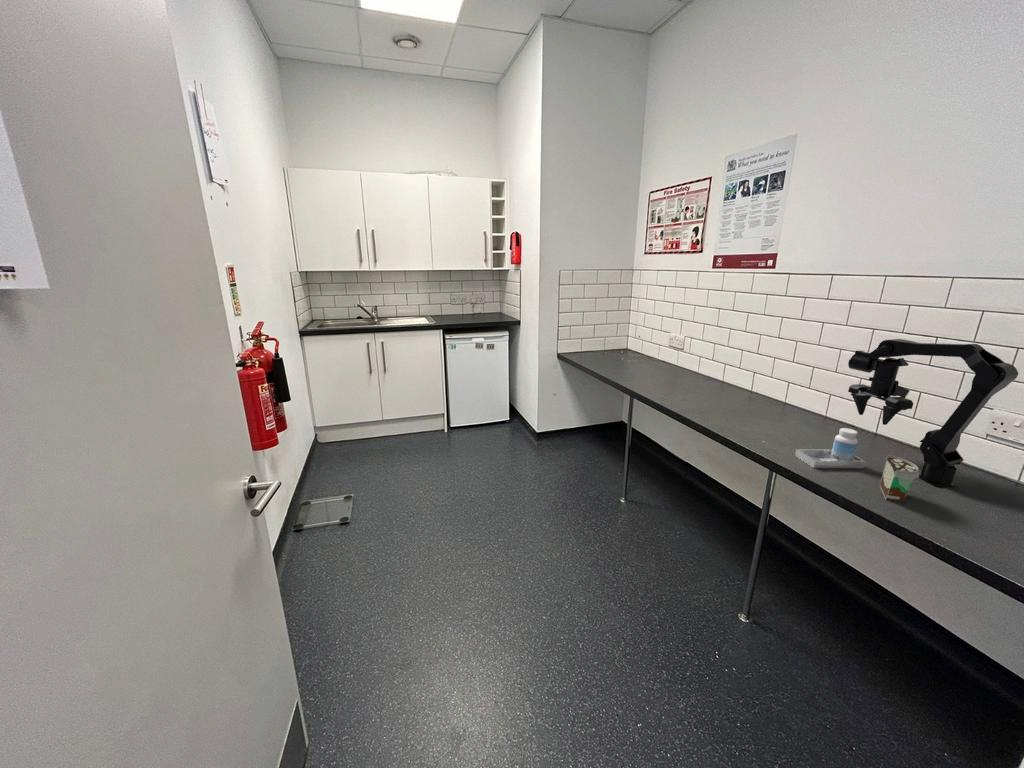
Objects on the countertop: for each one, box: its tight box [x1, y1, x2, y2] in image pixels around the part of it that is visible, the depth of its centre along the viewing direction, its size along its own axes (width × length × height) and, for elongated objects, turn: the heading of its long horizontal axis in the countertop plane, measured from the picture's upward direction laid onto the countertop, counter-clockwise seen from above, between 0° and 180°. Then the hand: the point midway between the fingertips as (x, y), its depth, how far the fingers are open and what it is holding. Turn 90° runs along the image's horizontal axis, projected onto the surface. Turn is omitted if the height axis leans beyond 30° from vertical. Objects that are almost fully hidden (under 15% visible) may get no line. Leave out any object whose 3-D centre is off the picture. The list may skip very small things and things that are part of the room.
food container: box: [879, 454, 920, 502], centre depth 120 cm, size 12×6×10 cm, turn 148°
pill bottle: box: [831, 427, 859, 461], centre depth 139 cm, size 6×6×11 cm
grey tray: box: [794, 448, 866, 469], centre depth 141 cm, size 9×17×2 cm, turn 91°
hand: (872, 419), depth 144 cm, fingers open, 9 cm apart
